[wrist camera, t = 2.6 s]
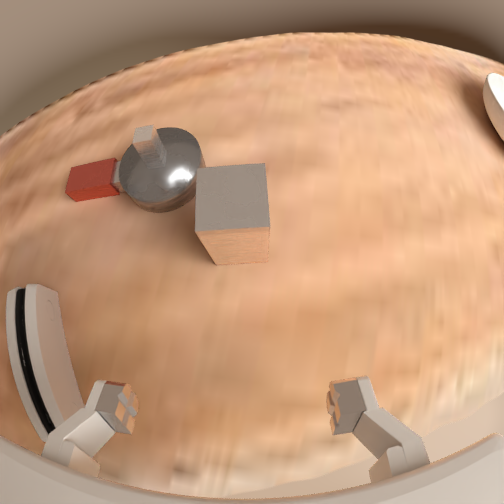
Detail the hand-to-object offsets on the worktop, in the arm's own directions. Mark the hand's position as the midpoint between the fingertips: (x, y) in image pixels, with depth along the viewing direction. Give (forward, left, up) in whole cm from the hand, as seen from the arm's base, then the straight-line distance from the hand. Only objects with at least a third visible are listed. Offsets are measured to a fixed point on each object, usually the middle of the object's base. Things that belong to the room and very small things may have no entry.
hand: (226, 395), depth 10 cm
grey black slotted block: (-20, -1, -15) cm, 25 cm away
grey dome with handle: (-12, +19, -15) cm, 27 cm away
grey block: (0, +11, -15) cm, 19 cm away
